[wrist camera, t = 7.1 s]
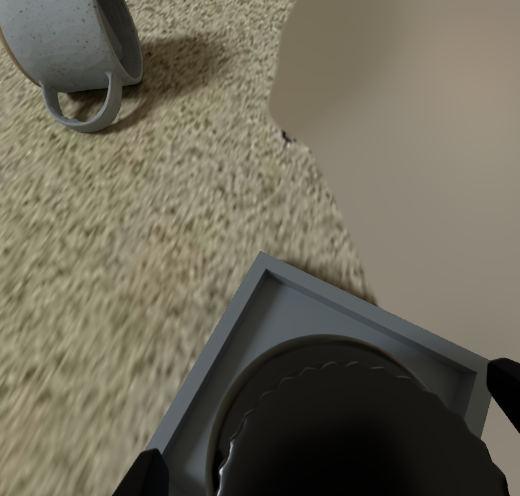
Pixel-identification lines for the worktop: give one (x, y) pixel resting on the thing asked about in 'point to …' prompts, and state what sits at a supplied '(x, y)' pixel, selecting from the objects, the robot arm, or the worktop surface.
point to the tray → (292, 326)
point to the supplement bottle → (341, 429)
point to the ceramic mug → (74, 51)
